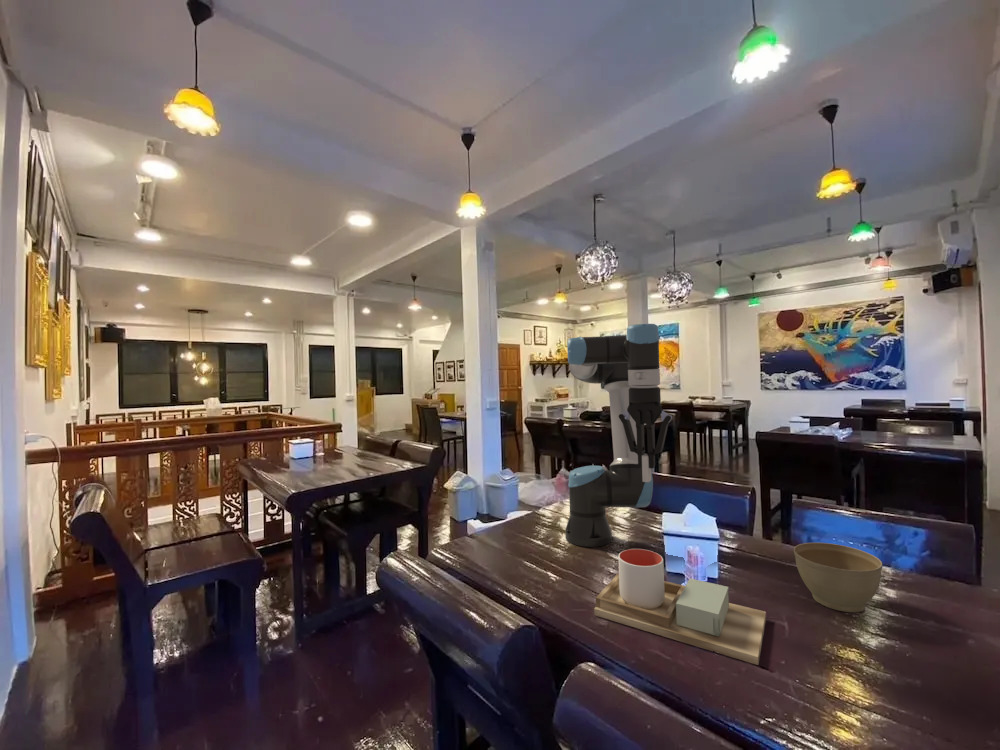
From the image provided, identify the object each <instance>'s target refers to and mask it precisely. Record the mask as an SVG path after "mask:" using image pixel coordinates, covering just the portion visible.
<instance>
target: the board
mask: <svg viewBox="0 0 1000 750" xmlns="http://www.w3.org/2000/svg"><path fill="white" fill-rule="evenodd" d="M685 586H686V585H683V584H678V583H675V582H671V581H665V580H664V590H665V599H664V602H663V603H662V605H660V606H659V607H657V608H653V609H643V608H639V607H635V606H632V605H629V604H627V603H626V602H624V600H623V599H622V598H621V596H620V589H619V572H618V573H617V574H616V575H615V576H614V577H613V579H611V580H610V582H609V583H608V584H606V586H605V587H604V588H603V589H602V590H601V591H600V593H599V594H598V595H596V597H595V607H594V608H593V610H594V612H593V613H594V616H595V617H599V618H602V619H606V620H608V621H612V622H615V623H619V624H622V625H626V626H628V627H631V628H635V629H638V630H641V631H645V632H648V633H651V634H655V635H657V636H662V637H664V638H667V639H671V640H675V641H678V642H680V643H684V644H687V645H691V646H694V647H697V648H701V649H703V650H707V651H710V652H713V651H715V652H714V653H716V652H718V653H717V654H721V655H723V654H724V655H723V656H726V657H730V658H733V659H737V660H740V661H743V662H746V663H750V664H752V665H757V666H759V664H760V656H761V651H762V645H763V638H764V633H765V627H766V622H767V612H766V611H765V610H760V609H755V608H751V607H748V606H743V605H740V604H735V603H730V602H729V609H728V612H727V615H726V618H725V621H724V624H723V627H722V630H721V633H720V636H715V635H712V634H708V633H705V632H701V631H698V630H694V629H691V628H687V627H684V626H680V625H677V617H676V602H677V601H678V599H679V597H680V595H681V593H682V592H683V590H684V588H685Z"/></svg>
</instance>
